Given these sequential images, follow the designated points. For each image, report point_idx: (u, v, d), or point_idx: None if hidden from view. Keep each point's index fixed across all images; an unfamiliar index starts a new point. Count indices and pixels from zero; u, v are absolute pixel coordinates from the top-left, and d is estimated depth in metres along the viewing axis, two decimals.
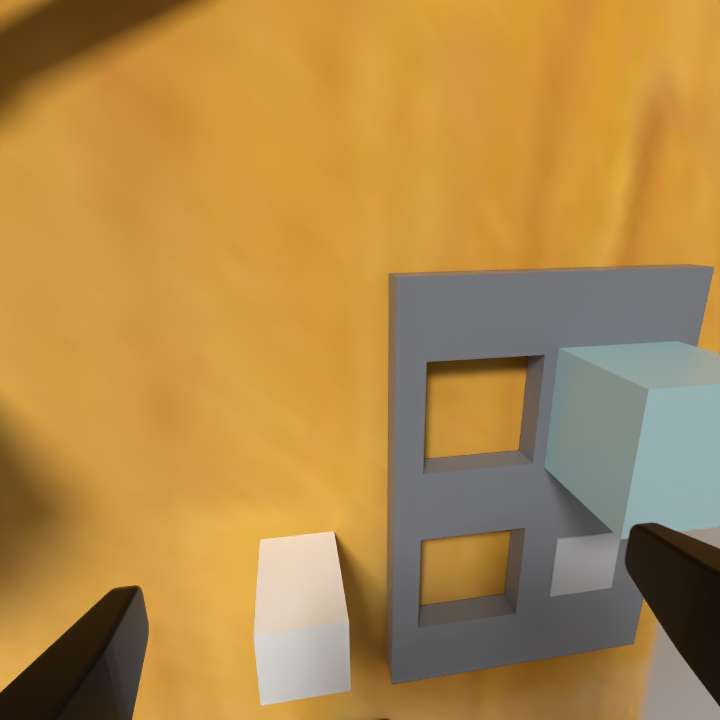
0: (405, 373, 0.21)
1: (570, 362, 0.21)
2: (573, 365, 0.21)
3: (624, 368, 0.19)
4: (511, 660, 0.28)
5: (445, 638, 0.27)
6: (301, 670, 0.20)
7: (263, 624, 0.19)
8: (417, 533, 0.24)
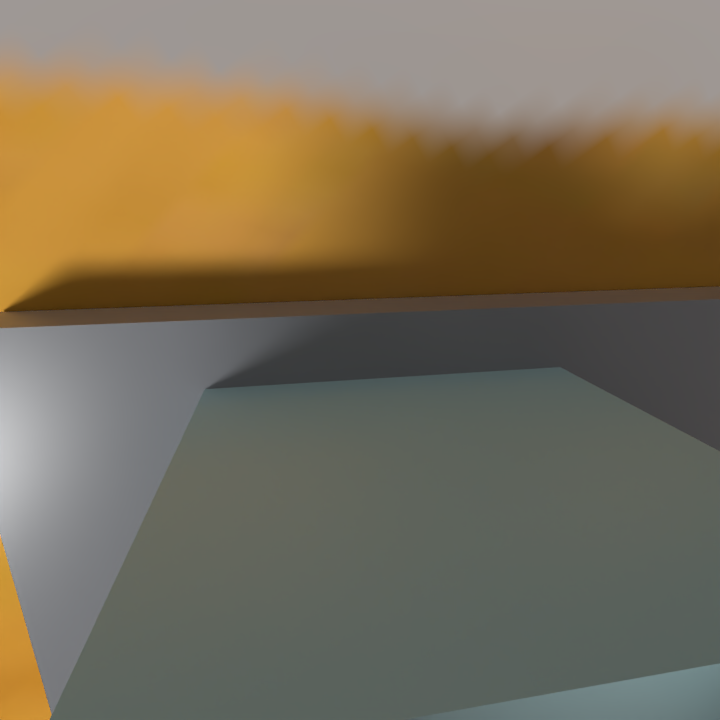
0: None
1: None
2: None
3: None
4: None
5: None
6: None
7: None
8: None
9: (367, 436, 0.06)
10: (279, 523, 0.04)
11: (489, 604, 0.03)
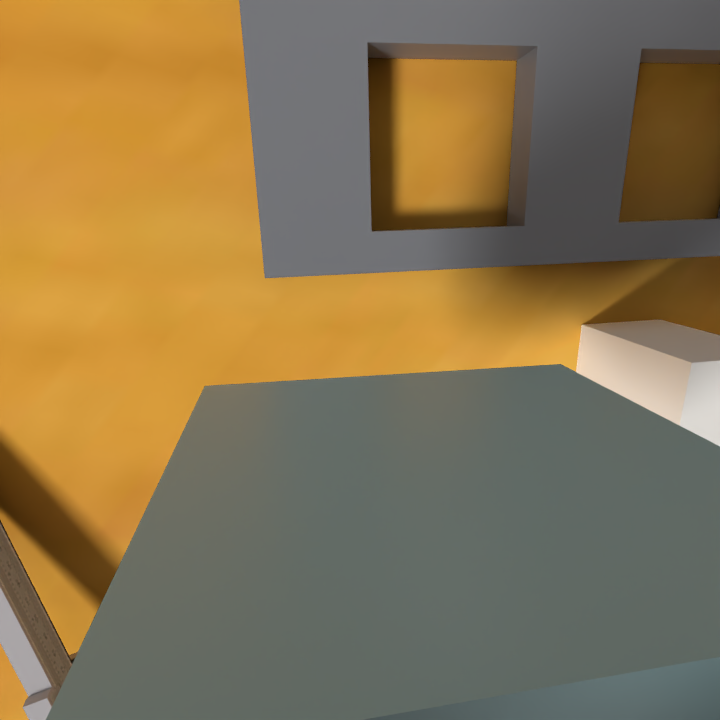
0: (385, 259, 0.17)
1: None
2: None
3: None
4: None
5: None
6: None
7: None
8: (607, 228, 0.18)
9: (368, 432, 0.06)
10: (279, 517, 0.04)
11: (491, 599, 0.03)
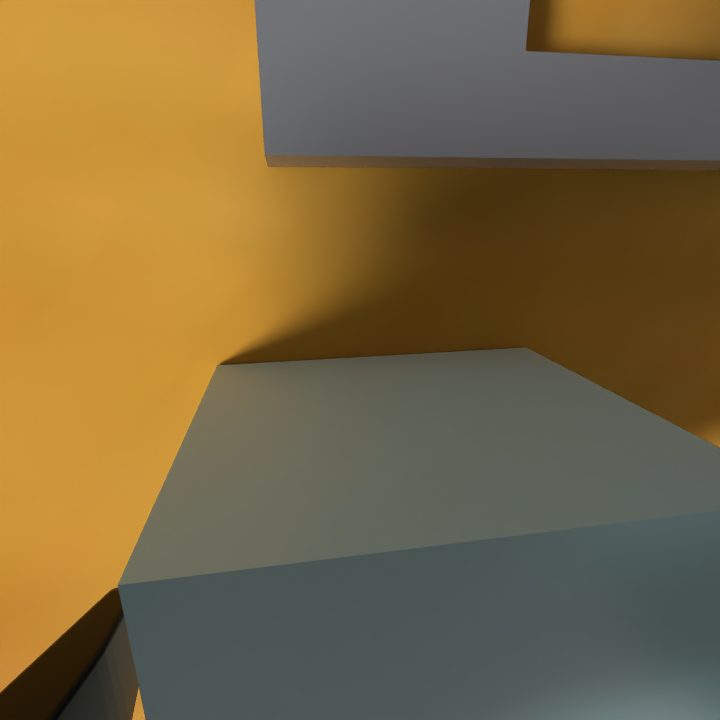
0: (548, 125, 0.07)
1: None
2: None
3: None
4: None
5: None
6: None
7: None
8: None
9: (354, 398, 0.07)
10: (283, 453, 0.06)
11: (436, 498, 0.05)
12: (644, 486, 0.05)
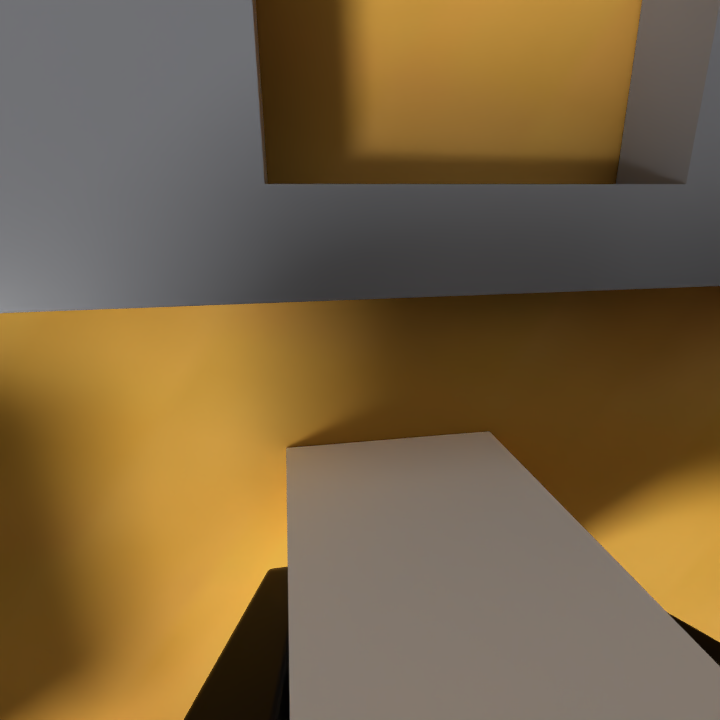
0: None
1: None
2: None
3: None
4: None
5: None
6: None
7: None
8: (227, 201, 0.06)
9: None
10: None
11: None
12: None
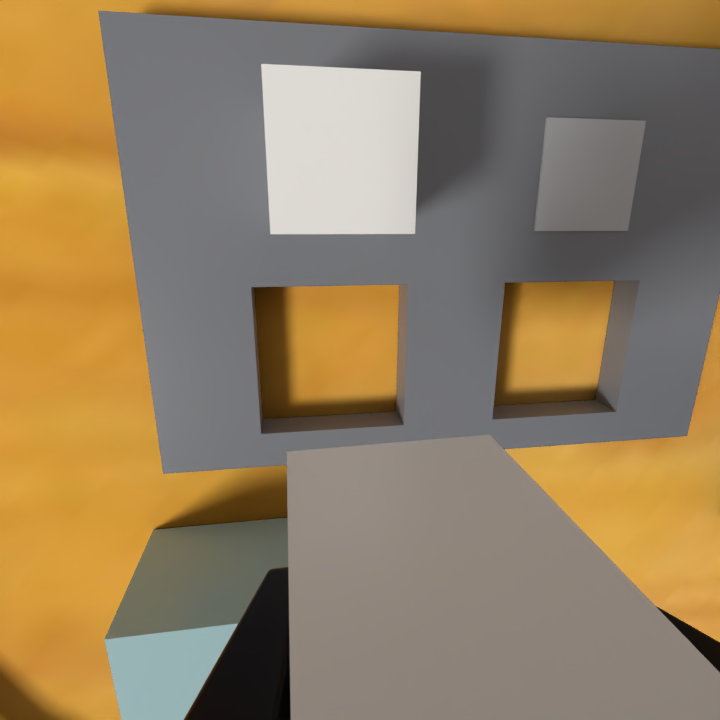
0: (274, 455, 0.19)
1: None
2: None
3: None
4: (716, 277, 0.20)
5: (643, 375, 0.21)
6: None
7: None
8: (481, 424, 0.20)
9: (199, 558, 0.19)
10: (160, 591, 0.17)
11: (195, 612, 0.16)
12: None
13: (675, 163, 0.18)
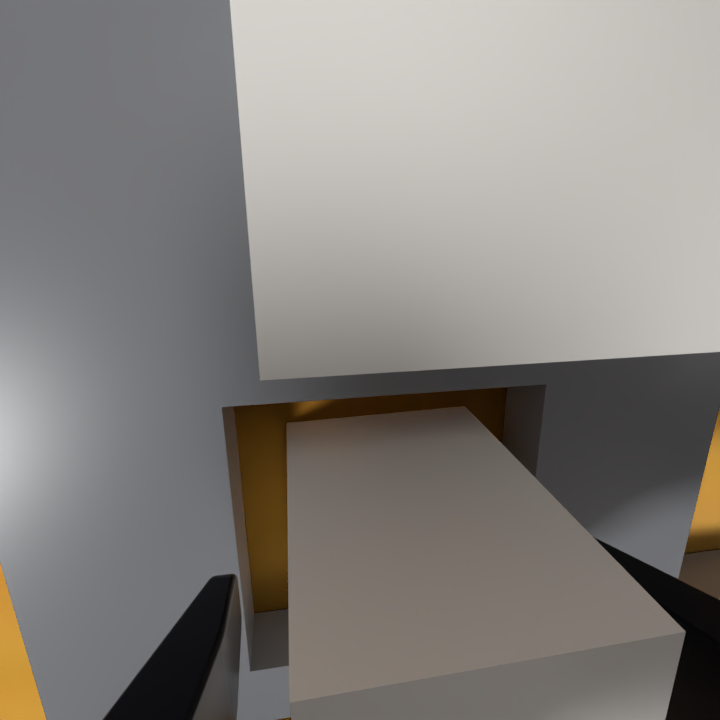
0: (277, 703, 0.10)
1: None
2: None
3: None
4: None
5: None
6: None
7: None
8: None
9: None
10: None
11: None
12: None
13: None
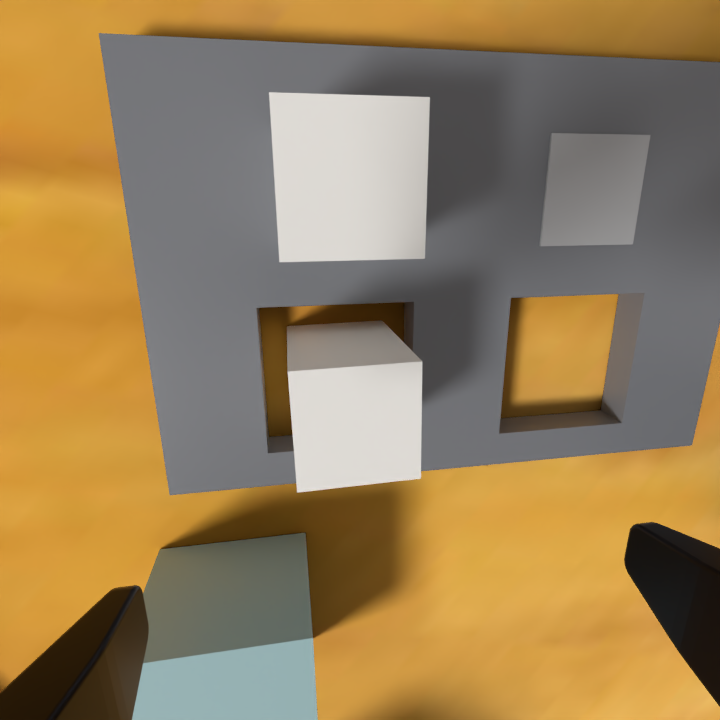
0: (282, 474, 0.19)
1: None
2: None
3: None
4: None
5: (649, 386, 0.21)
6: (369, 431, 0.14)
7: None
8: (488, 438, 0.20)
9: (207, 579, 0.19)
10: (169, 615, 0.17)
11: (206, 637, 0.16)
12: (269, 632, 0.16)
13: (679, 176, 0.18)
